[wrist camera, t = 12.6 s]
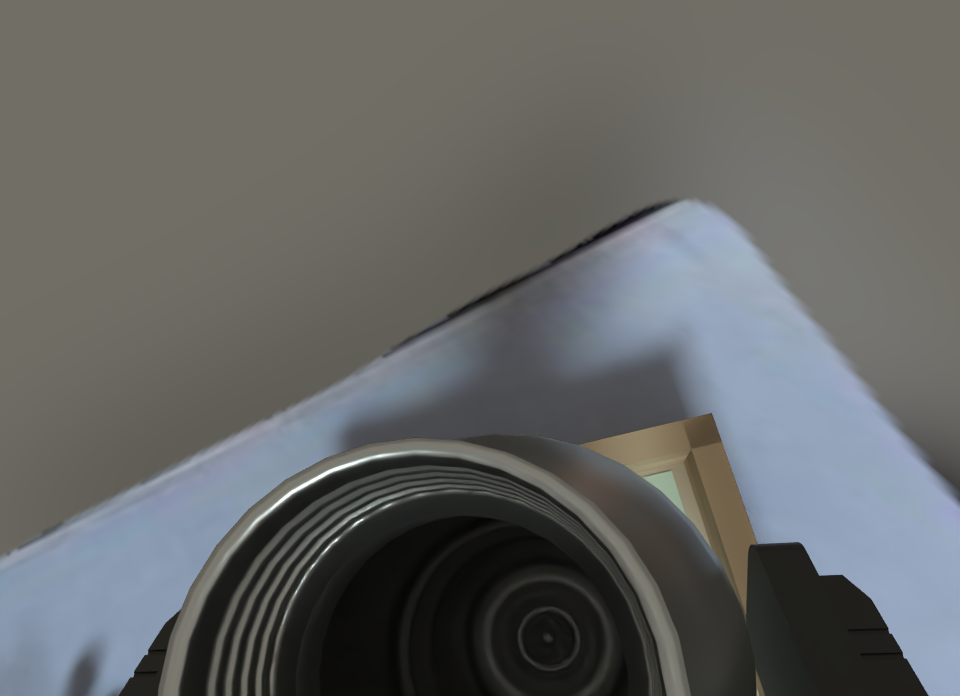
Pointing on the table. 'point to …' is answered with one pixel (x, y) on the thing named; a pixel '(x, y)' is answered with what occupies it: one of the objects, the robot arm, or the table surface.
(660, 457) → the box
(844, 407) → the table surface
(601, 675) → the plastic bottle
